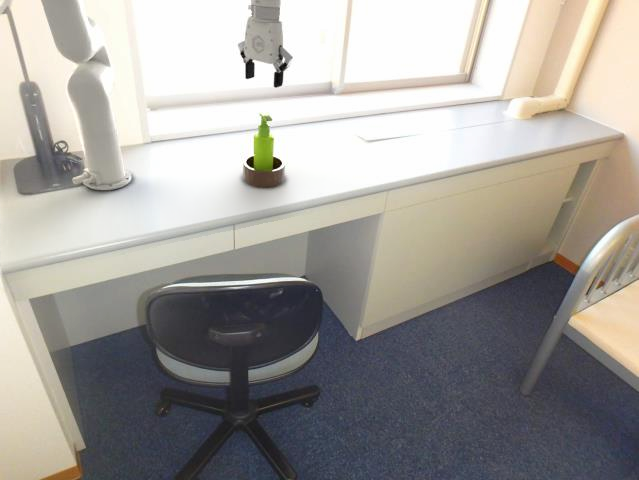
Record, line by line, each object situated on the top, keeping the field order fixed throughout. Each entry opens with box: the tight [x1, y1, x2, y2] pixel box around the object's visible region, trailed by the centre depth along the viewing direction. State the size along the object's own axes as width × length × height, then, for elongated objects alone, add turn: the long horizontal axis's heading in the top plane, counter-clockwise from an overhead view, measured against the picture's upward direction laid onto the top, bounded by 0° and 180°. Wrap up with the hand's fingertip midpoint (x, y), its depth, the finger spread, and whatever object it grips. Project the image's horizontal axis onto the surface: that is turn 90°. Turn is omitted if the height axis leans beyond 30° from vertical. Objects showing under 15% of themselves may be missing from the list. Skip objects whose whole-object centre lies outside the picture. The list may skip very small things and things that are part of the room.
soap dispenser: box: [253, 112, 275, 171], centre depth 133 cm, size 6×7×20 cm
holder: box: [242, 154, 286, 189], centre depth 137 cm, size 13×13×6 cm
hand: (263, 82), depth 122 cm, fingers open, 9 cm apart
